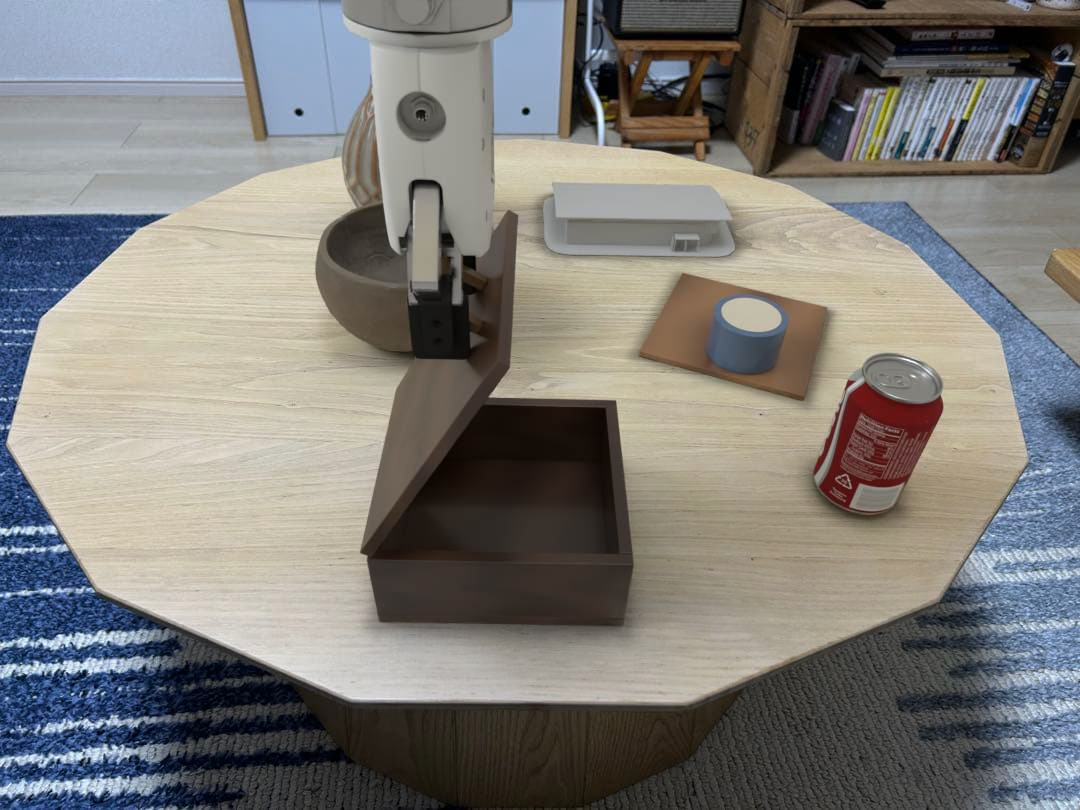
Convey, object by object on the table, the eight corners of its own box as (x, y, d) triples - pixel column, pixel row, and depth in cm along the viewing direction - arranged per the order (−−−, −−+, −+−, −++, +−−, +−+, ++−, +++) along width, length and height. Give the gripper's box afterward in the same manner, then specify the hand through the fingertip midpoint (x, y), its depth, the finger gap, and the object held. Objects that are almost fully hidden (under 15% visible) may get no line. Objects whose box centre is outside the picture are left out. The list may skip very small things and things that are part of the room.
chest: (608, 461, 65) (616, 399, 60) (623, 626, 53) (634, 565, 48) (408, 457, 64) (401, 395, 60) (378, 621, 52) (366, 560, 48)
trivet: (826, 311, 82) (827, 307, 82) (803, 401, 71) (804, 396, 71) (681, 277, 87) (682, 272, 86) (638, 355, 76) (639, 351, 75)
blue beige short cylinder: (783, 342, 77) (794, 304, 74) (770, 382, 72) (782, 344, 69) (715, 324, 79) (723, 287, 76) (698, 363, 74) (705, 324, 71)
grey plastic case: (740, 257, 90) (747, 227, 88) (545, 254, 90) (546, 224, 87) (715, 197, 102) (721, 169, 99) (542, 194, 101) (543, 166, 98)
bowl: (536, 317, 80) (538, 231, 73) (411, 402, 69) (400, 311, 63) (420, 260, 88) (412, 177, 81) (292, 328, 77) (272, 240, 71)
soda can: (903, 526, 60) (964, 412, 52) (815, 514, 61) (861, 400, 53) (888, 465, 65) (941, 352, 57) (806, 454, 66) (848, 342, 58)
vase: (344, 203, 98) (322, 60, 86) (446, 192, 101) (437, 52, 89) (358, 255, 88) (335, 101, 77) (469, 240, 91) (463, 91, 80)
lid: (518, 214, 49) (446, 175, 48) (510, 367, 38) (414, 323, 36) (405, 392, 60) (342, 365, 58) (371, 557, 48) (290, 530, 46)
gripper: (508, 54, 27) (505, 423, 39) (516, -56, 40) (512, 249, 52) (294, 47, 27) (358, 420, 39) (371, -61, 40) (401, 246, 52)
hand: (446, 320), depth 45 cm, fingers closed on lid, 5 cm apart
